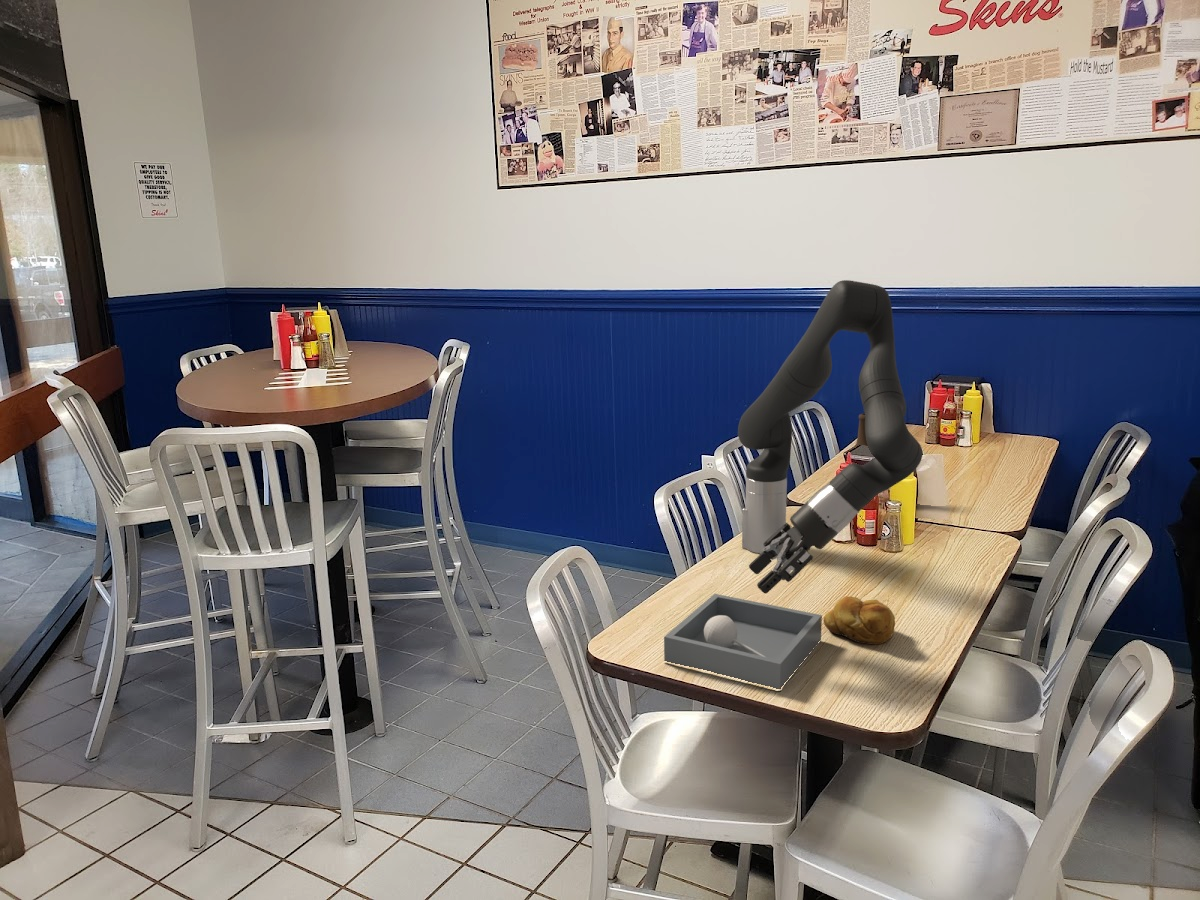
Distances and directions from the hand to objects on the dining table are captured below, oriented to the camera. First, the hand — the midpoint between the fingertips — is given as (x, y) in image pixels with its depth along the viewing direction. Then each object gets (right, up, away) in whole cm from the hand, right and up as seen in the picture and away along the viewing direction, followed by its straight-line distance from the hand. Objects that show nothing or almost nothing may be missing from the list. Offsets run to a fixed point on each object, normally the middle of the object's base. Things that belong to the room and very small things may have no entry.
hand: (756, 580), depth 157 cm
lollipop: (+3, -14, -6) cm, 15 cm away
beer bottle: (+43, +9, +84) cm, 95 cm away
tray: (-2, -13, +2) cm, 13 cm away
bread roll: (+20, -11, +8) cm, 24 cm away
